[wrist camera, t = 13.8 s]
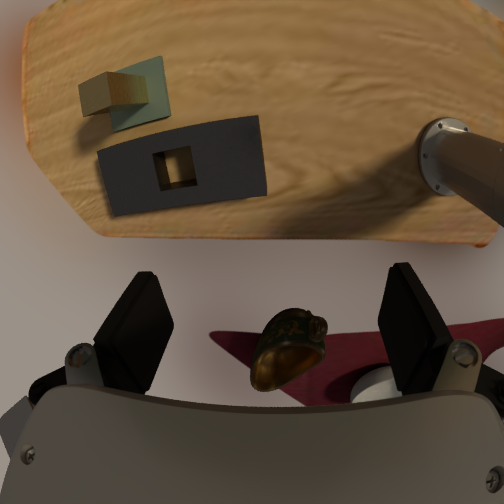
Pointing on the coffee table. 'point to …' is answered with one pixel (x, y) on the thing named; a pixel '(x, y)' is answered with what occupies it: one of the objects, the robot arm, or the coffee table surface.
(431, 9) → the coffee table surface
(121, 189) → the dark square-hole plate
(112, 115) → the green mat
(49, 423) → the robot arm
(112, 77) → the brass plug
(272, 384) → the cup
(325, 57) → the coffee table surface
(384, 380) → the cereal bowl
